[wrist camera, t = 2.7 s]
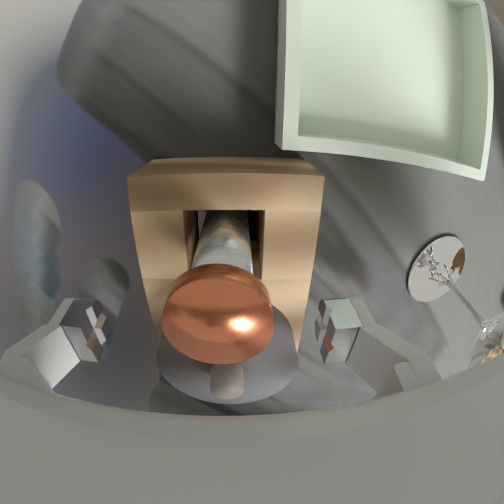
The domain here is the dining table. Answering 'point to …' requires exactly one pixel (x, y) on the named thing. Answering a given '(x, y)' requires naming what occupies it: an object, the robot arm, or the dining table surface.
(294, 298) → the block
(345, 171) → the dining table surface
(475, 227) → the dining table surface
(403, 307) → the dining table surface
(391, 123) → the tray
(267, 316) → the lock pin
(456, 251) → the wineglass
